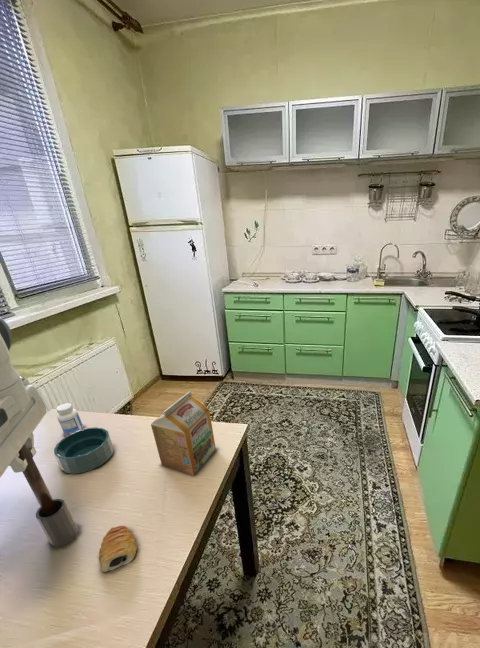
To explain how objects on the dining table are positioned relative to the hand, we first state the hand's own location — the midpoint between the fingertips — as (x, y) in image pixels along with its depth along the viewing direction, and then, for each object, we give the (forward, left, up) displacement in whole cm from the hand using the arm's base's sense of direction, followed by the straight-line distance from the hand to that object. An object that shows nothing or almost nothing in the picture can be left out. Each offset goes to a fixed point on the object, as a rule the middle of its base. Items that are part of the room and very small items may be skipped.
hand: (26, 462), depth 60 cm
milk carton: (+26, +18, -22) cm, 38 cm away
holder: (0, 0, -21) cm, 21 cm away
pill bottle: (-10, +41, -22) cm, 47 cm away
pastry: (+12, -7, -22) cm, 26 cm away
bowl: (-2, +26, -21) cm, 34 cm away
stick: (0, 0, -14) cm, 14 cm away
